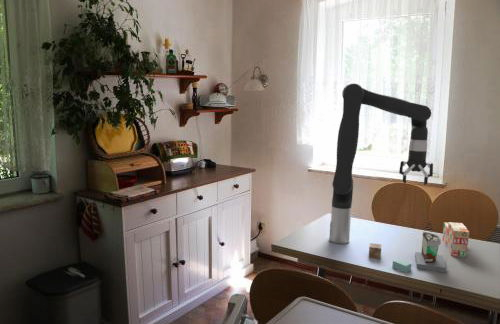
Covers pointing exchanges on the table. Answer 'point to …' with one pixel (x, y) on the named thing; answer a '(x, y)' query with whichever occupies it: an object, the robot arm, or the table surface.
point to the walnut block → (375, 251)
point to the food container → (430, 247)
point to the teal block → (401, 265)
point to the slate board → (435, 266)
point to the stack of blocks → (456, 238)
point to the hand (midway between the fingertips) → (414, 184)
